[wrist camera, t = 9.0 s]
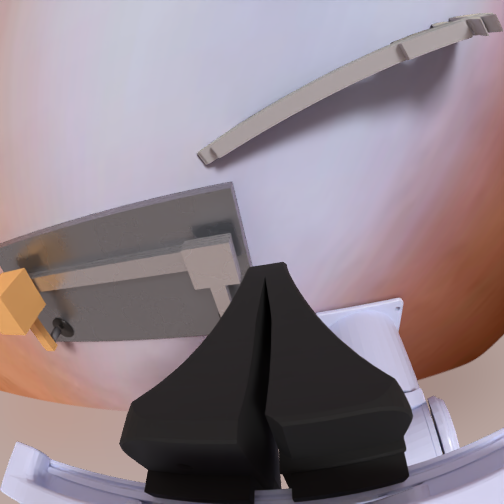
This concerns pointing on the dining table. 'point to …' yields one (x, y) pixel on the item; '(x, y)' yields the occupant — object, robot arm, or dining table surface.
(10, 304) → the block
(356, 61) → the caliper
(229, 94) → the dining table surface
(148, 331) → the board
